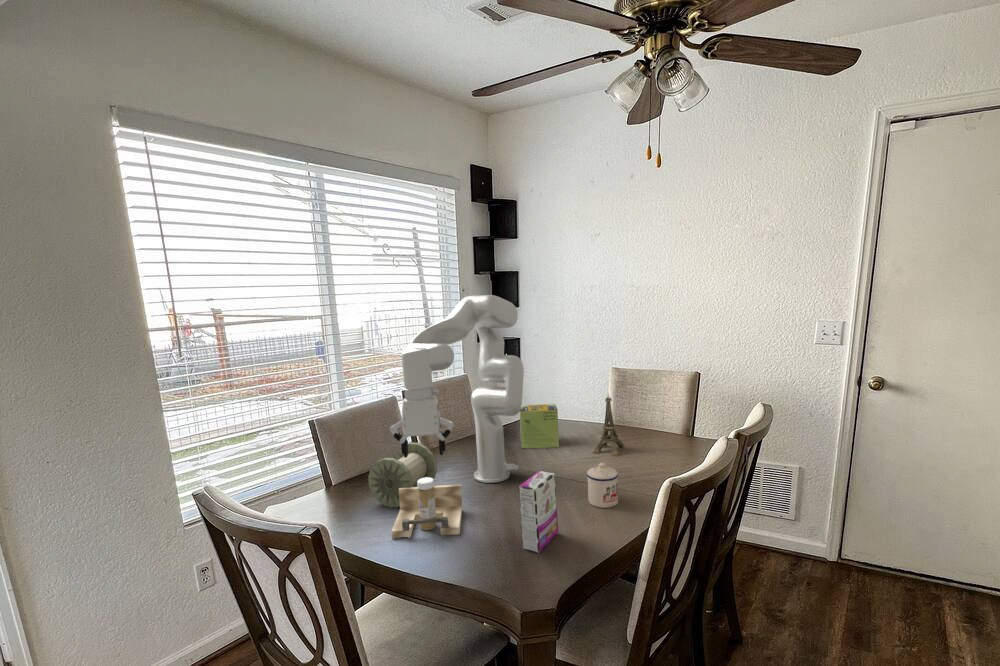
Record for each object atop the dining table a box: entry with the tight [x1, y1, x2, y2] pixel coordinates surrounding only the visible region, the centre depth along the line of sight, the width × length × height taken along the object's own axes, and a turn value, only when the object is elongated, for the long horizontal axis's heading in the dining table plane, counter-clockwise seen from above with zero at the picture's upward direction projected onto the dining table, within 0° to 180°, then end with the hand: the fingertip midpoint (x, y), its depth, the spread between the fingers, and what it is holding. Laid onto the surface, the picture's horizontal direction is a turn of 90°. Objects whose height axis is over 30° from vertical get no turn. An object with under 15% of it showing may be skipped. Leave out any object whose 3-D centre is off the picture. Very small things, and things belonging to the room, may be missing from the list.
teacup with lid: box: [586, 462, 619, 509], centre depth 144 cm, size 12×9×12 cm
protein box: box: [519, 403, 560, 449], centre depth 200 cm, size 10×15×16 cm
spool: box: [367, 442, 438, 509], centre depth 155 cm, size 16×15×15 cm
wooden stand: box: [390, 484, 463, 539], centre depth 135 cm, size 18×14×8 cm
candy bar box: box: [518, 470, 559, 554], centre depth 123 cm, size 11×5×16 cm, turn 148°
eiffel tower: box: [591, 394, 628, 458], centre depth 187 cm, size 11×11×25 cm
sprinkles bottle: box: [417, 477, 438, 531], centre depth 133 cm, size 5×5×14 cm
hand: (424, 454), depth 132 cm, fingers open, 9 cm apart
